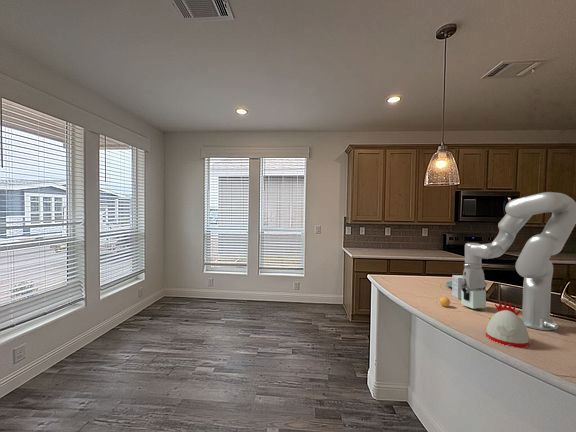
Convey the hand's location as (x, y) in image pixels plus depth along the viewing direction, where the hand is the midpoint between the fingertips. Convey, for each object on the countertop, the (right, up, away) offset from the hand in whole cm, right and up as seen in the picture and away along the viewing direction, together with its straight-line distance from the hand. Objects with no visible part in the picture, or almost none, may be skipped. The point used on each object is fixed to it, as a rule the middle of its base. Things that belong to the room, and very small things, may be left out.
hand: (473, 299), depth 155 cm
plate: (+19, -5, +40) cm, 44 cm away
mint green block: (0, -4, 0) cm, 4 cm away
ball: (-14, -2, +2) cm, 14 cm away
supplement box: (+5, -5, +19) cm, 20 cm away
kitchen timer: (-11, -5, -38) cm, 40 cm away
